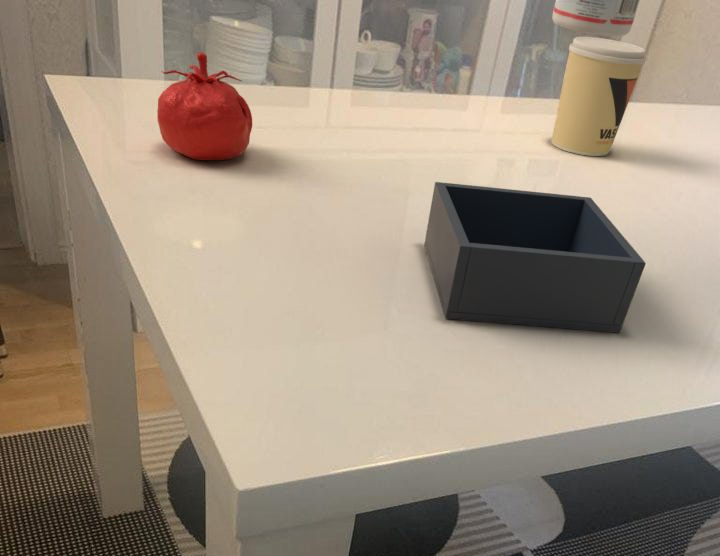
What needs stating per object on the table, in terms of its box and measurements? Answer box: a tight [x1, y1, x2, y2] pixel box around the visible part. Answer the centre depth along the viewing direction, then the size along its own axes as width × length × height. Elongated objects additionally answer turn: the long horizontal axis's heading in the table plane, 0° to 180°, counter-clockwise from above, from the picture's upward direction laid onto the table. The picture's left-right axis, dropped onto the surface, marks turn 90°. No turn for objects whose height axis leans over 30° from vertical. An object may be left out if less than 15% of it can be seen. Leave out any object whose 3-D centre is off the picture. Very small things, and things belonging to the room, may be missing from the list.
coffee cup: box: [551, 36, 647, 157], centre depth 94 cm, size 9×9×12 cm
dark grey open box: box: [423, 181, 646, 333], centre depth 59 cm, size 14×14×6 cm
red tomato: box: [156, 51, 253, 161], centre depth 75 cm, size 10×10×9 cm
